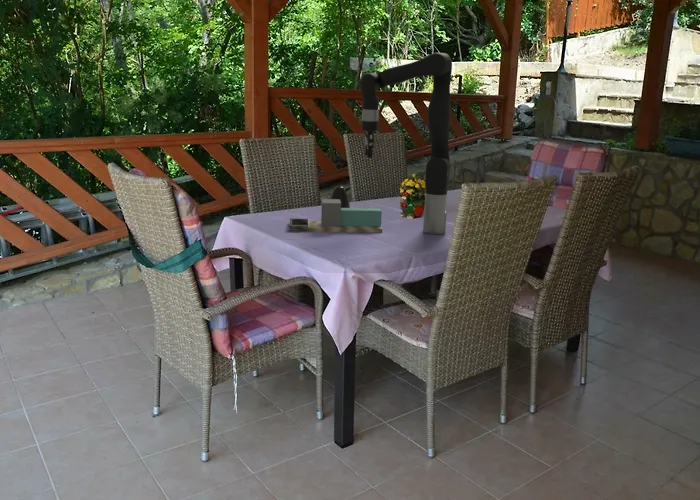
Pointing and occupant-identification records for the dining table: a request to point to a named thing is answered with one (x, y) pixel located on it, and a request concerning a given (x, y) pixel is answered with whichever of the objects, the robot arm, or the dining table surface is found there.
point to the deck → (317, 227)
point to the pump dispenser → (341, 196)
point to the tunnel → (331, 213)
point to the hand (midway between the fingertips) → (368, 156)
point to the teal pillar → (361, 216)
